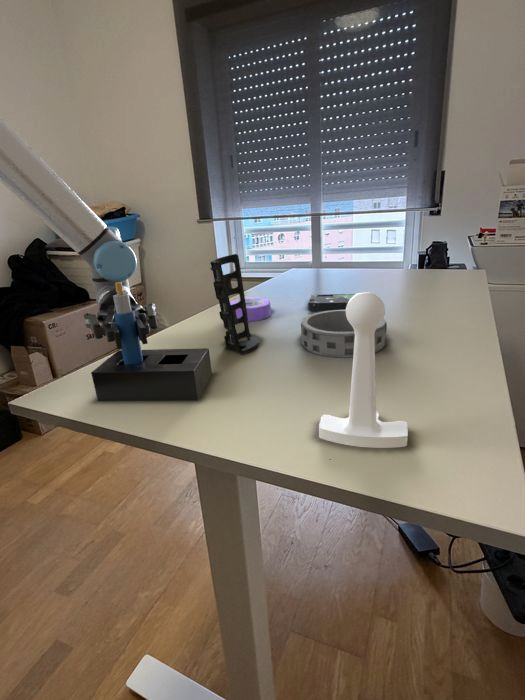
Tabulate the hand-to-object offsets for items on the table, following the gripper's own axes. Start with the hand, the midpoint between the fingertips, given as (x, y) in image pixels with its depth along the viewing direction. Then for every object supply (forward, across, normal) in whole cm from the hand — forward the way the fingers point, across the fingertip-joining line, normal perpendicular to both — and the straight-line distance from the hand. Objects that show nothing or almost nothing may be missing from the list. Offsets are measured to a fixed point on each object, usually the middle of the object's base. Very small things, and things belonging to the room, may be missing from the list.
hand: (131, 338), depth 64 cm
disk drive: (-33, -59, -12) cm, 68 cm away
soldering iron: (-5, 0, -10) cm, 11 cm away
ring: (-7, -44, -12) cm, 46 cm away
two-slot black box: (-4, -3, -12) cm, 13 cm away
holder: (-17, -24, -12) cm, 32 cm away
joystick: (+25, -26, -12) cm, 38 cm away
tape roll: (-39, -35, -12) cm, 54 cm away
